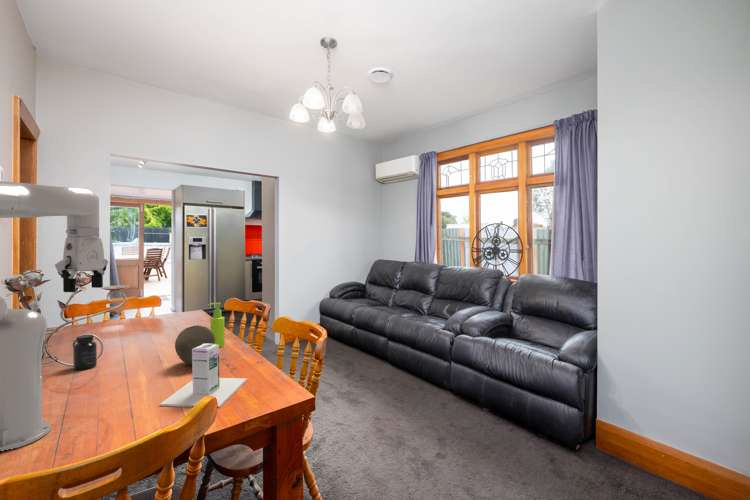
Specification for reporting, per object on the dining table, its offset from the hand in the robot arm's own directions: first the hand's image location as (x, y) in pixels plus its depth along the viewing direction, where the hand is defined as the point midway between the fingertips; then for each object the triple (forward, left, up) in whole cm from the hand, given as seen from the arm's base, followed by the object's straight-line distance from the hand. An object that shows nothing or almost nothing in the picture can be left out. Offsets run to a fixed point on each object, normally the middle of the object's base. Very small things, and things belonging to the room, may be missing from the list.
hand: (84, 289), depth 106 cm
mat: (+6, -35, -33) cm, 49 cm away
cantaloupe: (+30, -18, -34) cm, 48 cm away
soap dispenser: (+53, -15, -34) cm, 64 cm away
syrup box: (+6, -35, -33) cm, 48 cm away
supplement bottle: (+24, +21, -34) cm, 46 cm away
